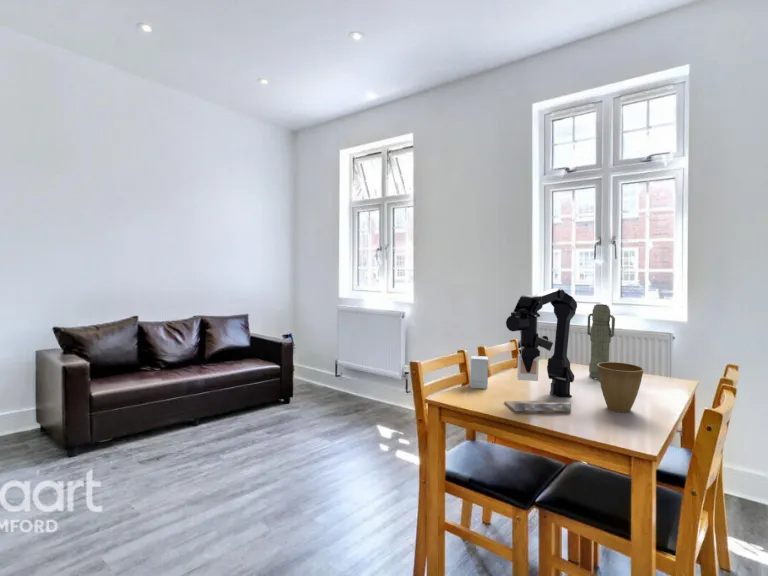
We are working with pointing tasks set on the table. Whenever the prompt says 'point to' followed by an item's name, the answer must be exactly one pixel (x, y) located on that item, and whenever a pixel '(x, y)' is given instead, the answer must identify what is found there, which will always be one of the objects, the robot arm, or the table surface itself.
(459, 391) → the table surface
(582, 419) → the table surface
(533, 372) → the carton
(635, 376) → the plant pot
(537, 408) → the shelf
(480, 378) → the supplement box
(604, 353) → the thermos
